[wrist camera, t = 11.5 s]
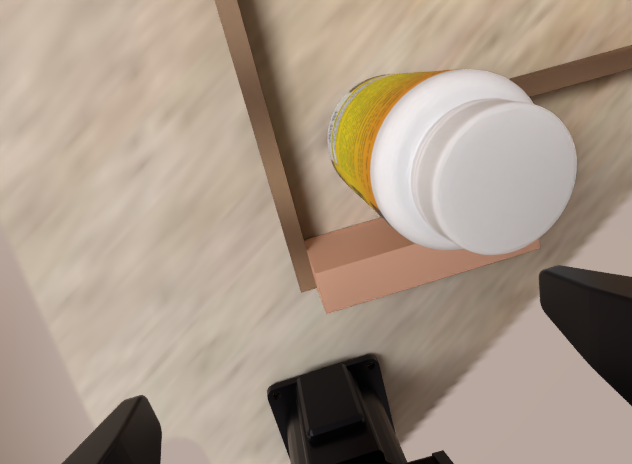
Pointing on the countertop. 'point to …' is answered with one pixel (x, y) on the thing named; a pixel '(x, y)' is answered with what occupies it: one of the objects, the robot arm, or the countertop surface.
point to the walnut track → (268, 145)
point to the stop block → (382, 263)
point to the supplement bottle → (454, 158)
